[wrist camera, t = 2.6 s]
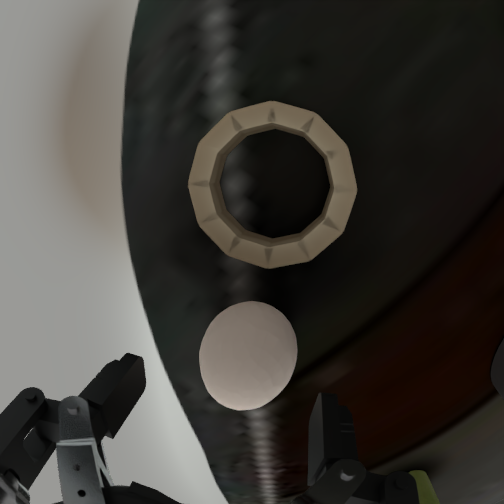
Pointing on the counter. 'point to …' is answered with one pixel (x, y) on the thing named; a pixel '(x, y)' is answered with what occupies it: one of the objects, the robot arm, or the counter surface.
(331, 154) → the egg holder
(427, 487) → the plant pot
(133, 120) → the counter surface
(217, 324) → the egg
